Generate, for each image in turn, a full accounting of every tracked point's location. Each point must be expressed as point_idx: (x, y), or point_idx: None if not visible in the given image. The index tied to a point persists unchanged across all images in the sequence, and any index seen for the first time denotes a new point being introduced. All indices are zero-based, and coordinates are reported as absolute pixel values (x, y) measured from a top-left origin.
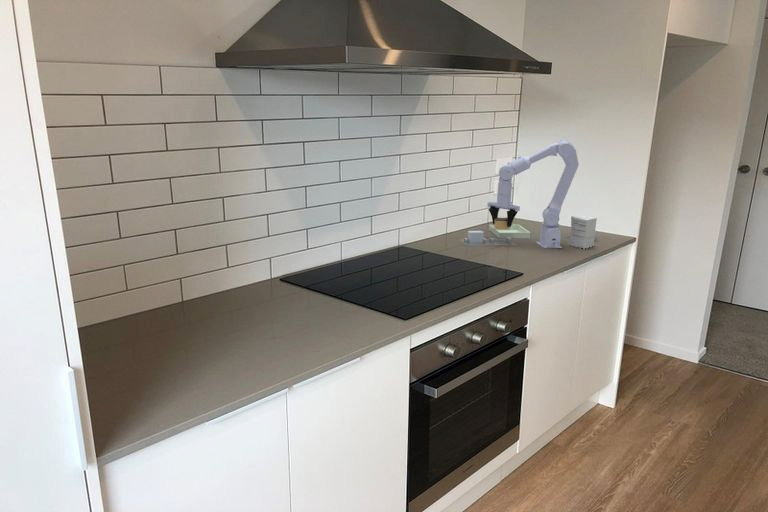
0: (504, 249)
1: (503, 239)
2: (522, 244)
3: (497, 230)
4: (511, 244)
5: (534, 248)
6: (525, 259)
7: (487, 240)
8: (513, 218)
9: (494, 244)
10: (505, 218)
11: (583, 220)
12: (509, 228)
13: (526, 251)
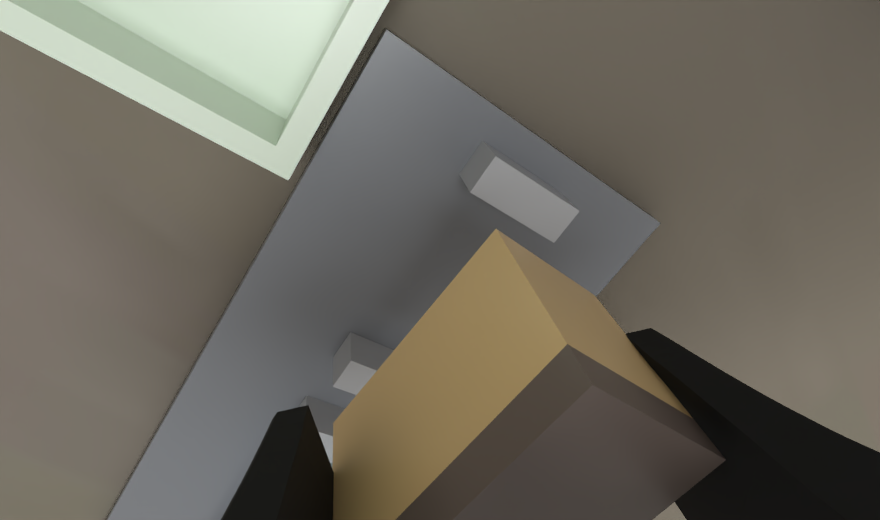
0: None
1: (383, 150)
2: (674, 88)
3: (94, 64)
4: (606, 258)
5: (855, 125)
6: (857, 439)
7: (308, 356)
8: (840, 454)
9: None
10: (581, 505)
11: None
12: (602, 310)
13: (809, 287)
